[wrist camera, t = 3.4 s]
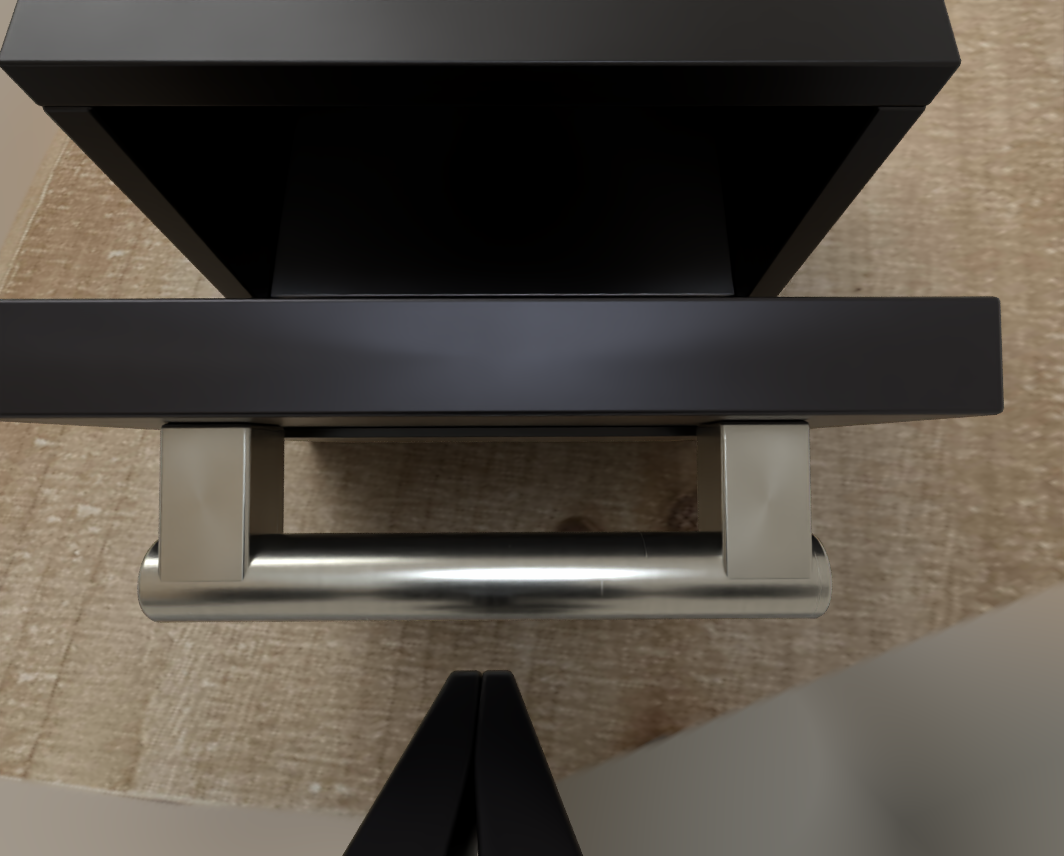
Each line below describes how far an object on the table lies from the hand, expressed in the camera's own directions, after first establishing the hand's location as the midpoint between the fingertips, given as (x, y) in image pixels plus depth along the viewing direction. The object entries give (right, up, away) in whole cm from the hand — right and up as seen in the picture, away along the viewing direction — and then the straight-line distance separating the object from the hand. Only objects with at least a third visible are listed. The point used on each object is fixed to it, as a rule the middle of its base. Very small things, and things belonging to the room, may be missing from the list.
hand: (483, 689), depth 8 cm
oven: (0, +12, +15) cm, 19 cm away
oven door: (0, +3, +12) cm, 12 cm away
